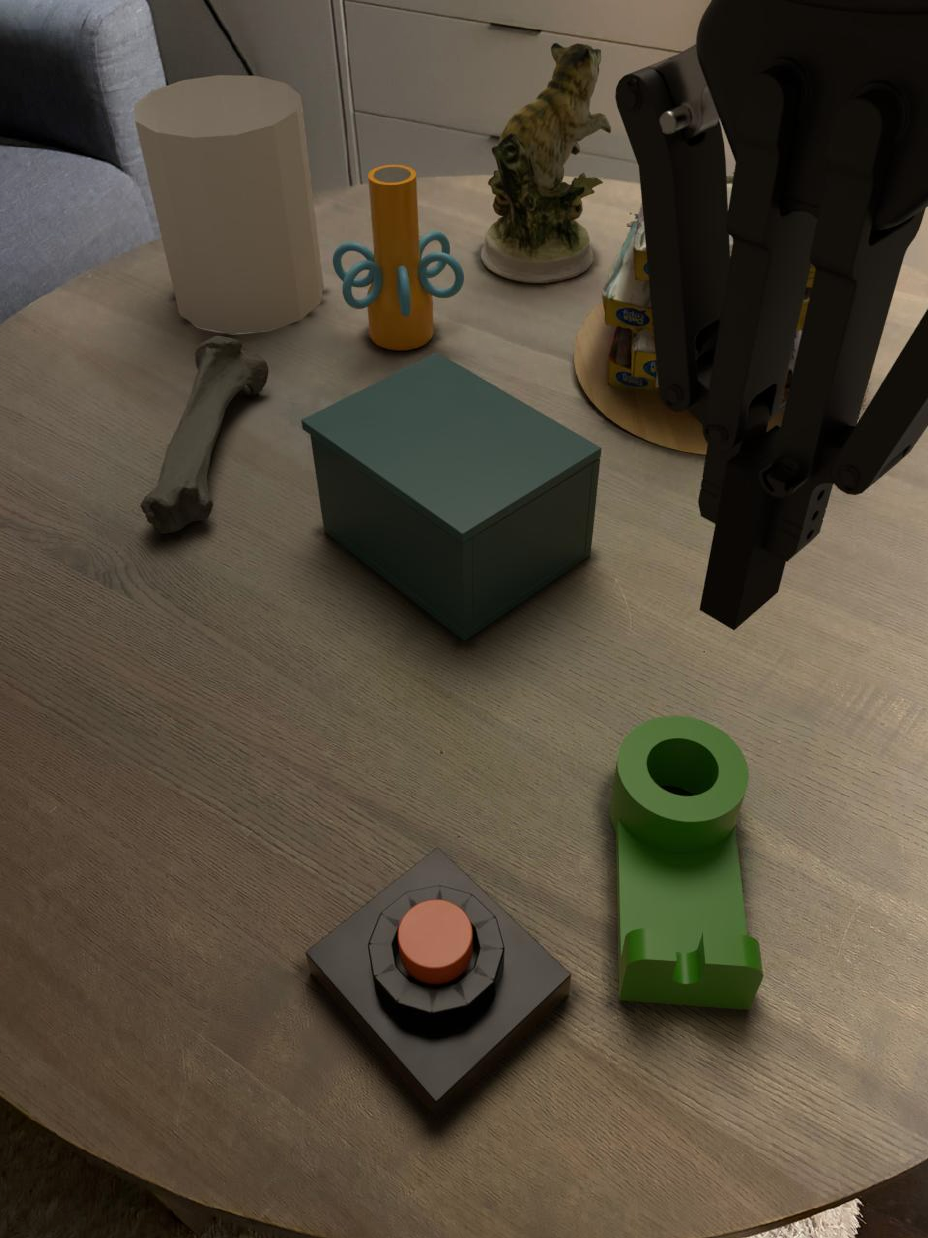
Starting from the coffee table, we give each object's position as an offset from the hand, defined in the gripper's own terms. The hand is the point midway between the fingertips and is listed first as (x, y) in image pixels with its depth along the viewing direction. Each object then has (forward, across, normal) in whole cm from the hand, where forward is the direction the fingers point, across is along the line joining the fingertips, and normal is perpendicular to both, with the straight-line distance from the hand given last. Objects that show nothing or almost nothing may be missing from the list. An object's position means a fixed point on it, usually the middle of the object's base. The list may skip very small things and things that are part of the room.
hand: (739, 600), depth 37 cm
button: (+21, -7, -10) cm, 25 cm away
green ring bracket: (+25, -2, +4) cm, 26 cm away
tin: (+24, -30, +14) cm, 42 cm away
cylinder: (+24, -55, +31) cm, 68 cm away
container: (+24, -71, +26) cm, 79 cm away
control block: (+25, -7, -10) cm, 28 cm away
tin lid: (+16, -31, +14) cm, 37 cm away
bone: (+24, -52, +8) cm, 58 cm away
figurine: (+24, -56, +51) cm, 80 cm away
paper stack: (+25, -30, +46) cm, 61 cm away
